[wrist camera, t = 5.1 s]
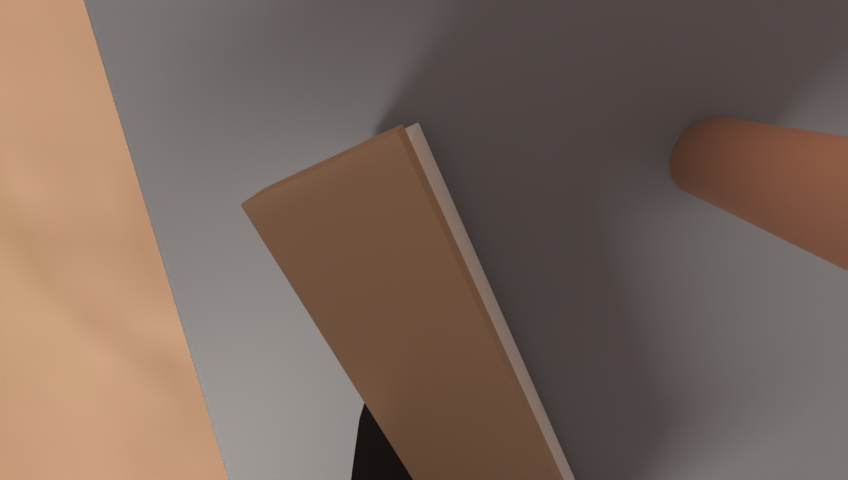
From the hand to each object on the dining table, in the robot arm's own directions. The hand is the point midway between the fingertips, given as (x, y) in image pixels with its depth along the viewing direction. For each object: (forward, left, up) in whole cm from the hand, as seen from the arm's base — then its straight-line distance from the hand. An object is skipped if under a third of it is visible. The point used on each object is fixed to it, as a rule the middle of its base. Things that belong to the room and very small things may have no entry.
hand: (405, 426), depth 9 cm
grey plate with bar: (+1, -5, -3) cm, 6 cm away
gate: (0, -2, -2) cm, 3 cm away
